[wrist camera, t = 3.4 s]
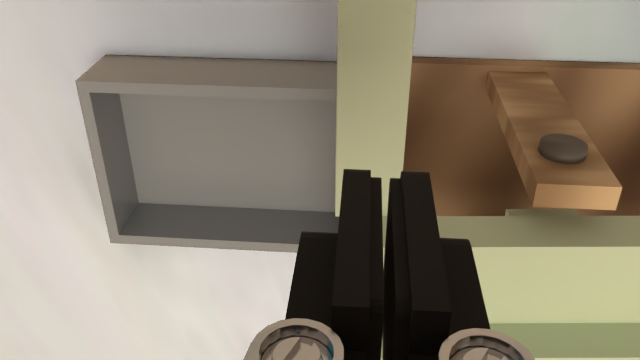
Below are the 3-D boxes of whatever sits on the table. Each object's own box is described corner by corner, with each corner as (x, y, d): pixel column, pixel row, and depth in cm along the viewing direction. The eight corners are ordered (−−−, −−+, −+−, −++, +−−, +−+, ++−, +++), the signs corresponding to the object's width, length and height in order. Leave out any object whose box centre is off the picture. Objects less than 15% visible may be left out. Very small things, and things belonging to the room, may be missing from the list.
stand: (740, 64, 32) (924, 190, 21) (675, 238, 37) (794, 407, 27) (365, 53, 33) (358, 166, 22) (358, 223, 39) (350, 377, 28)
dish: (105, 54, 34) (75, 81, 31) (357, 62, 33) (354, 90, 30) (133, 206, 40) (110, 242, 36) (352, 216, 39) (349, 255, 35)
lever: (969, -60, 21) (1110, -34, 17) (784, 299, 29) (852, 368, 25) (337, -60, 21) (342, -33, 17) (332, 300, 29) (334, 370, 25)
